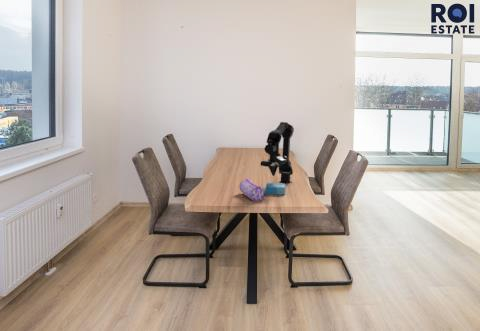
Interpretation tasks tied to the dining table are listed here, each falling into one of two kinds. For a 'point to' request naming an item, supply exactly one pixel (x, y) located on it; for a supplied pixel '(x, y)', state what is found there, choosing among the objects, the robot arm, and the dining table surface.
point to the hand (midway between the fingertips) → (273, 175)
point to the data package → (275, 188)
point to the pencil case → (251, 190)
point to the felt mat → (265, 191)
